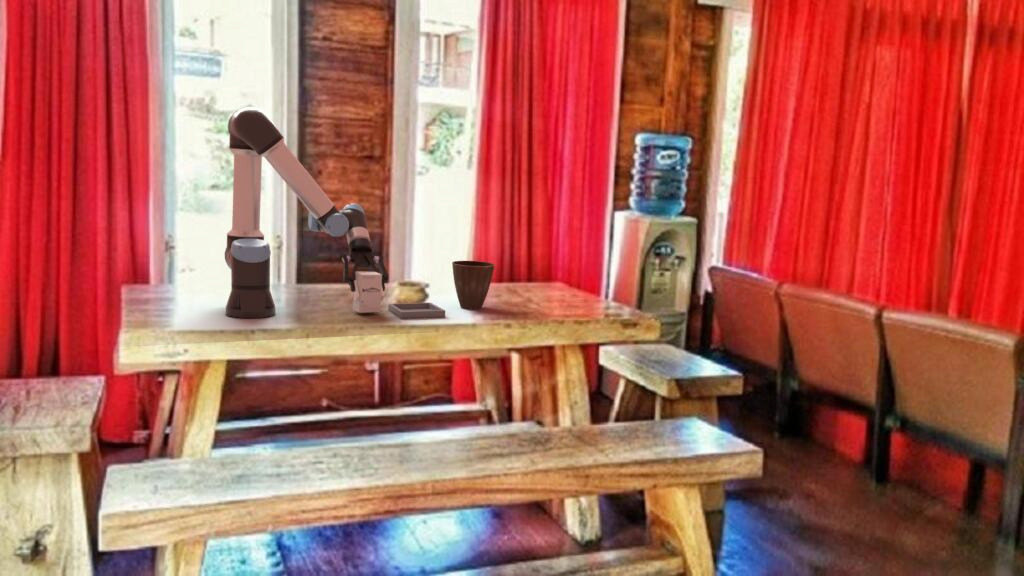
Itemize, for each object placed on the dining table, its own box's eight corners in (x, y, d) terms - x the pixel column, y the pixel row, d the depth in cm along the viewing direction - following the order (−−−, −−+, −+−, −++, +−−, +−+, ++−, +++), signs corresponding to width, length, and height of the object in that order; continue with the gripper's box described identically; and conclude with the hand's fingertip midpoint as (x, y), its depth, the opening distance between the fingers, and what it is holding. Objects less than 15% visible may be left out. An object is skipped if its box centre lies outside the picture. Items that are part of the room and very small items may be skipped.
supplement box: (359, 312, 261) (360, 274, 259) (352, 308, 268) (353, 271, 266) (381, 312, 265) (382, 274, 263) (374, 308, 271) (375, 271, 269)
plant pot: (484, 303, 296) (486, 260, 293) (498, 311, 282) (500, 266, 280) (445, 304, 291) (447, 260, 288) (457, 312, 277) (459, 266, 274)
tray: (401, 319, 260) (401, 312, 260) (388, 310, 273) (388, 303, 273) (445, 317, 266) (445, 310, 266) (430, 309, 280) (430, 302, 279)
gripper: (385, 250, 281) (397, 304, 269) (327, 249, 273) (336, 305, 261) (390, 237, 276) (402, 291, 264) (331, 236, 267) (341, 292, 255)
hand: (369, 298), depth 262 cm, fingers closed on supplement box, 7 cm apart
